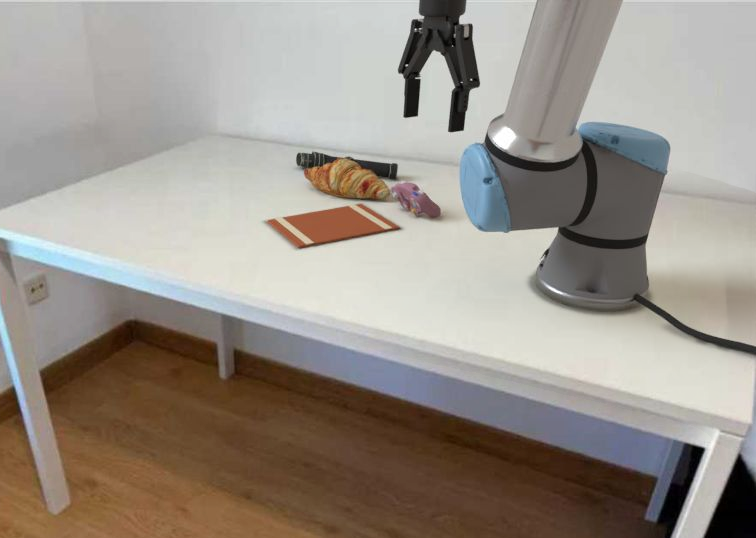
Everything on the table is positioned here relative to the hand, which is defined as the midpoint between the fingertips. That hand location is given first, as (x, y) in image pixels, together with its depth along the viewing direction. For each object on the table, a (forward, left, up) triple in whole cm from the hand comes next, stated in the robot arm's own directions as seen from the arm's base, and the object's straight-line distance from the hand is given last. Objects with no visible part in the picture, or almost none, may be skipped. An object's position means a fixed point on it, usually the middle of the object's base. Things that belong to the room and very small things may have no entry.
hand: (432, 123), depth 121 cm
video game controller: (+1, +1, -17) cm, 17 cm away
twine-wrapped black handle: (+29, +1, -17) cm, 34 cm away
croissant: (+18, +7, -17) cm, 26 cm away
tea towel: (+2, +18, -17) cm, 25 cm away
